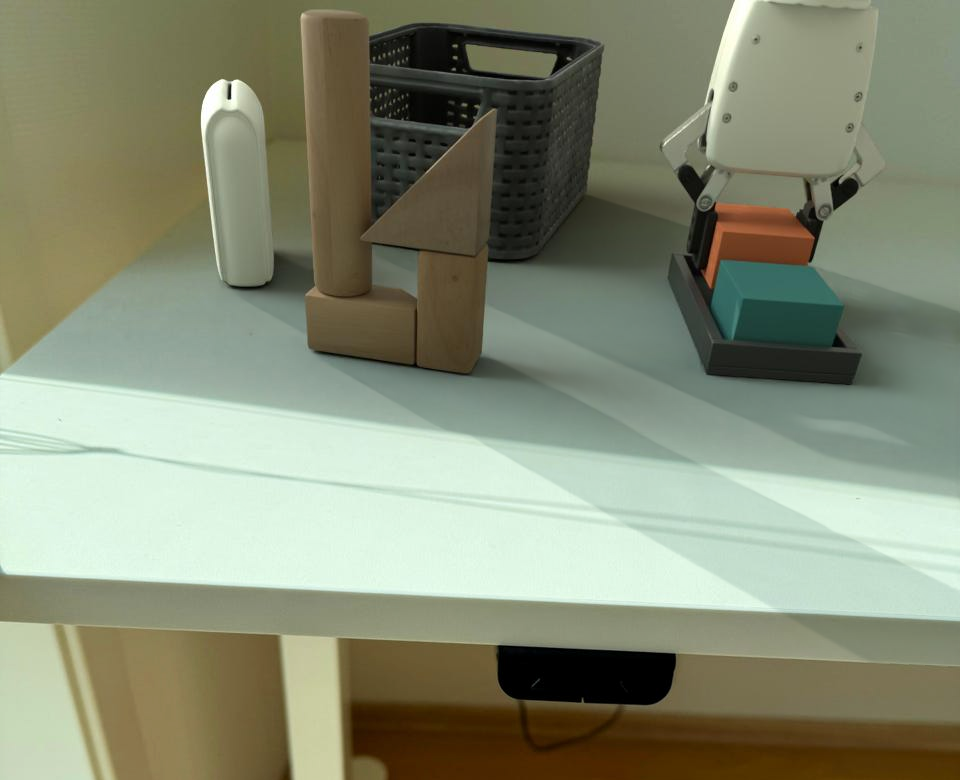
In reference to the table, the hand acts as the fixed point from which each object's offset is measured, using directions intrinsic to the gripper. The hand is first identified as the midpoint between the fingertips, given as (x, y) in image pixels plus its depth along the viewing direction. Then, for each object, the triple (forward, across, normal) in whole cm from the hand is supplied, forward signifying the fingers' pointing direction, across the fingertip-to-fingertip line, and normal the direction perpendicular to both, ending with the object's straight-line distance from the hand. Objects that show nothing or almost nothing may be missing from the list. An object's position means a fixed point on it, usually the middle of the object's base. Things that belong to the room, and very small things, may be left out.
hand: (745, 265), depth 69 cm
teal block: (+3, 0, +9) cm, 9 cm away
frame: (+3, 0, +4) cm, 5 cm away
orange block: (+1, 0, 0) cm, 1 cm away
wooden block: (+3, +25, +14) cm, 29 cm away
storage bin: (+3, +22, -22) cm, 31 cm away
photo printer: (+3, +38, 0) cm, 38 cm away
